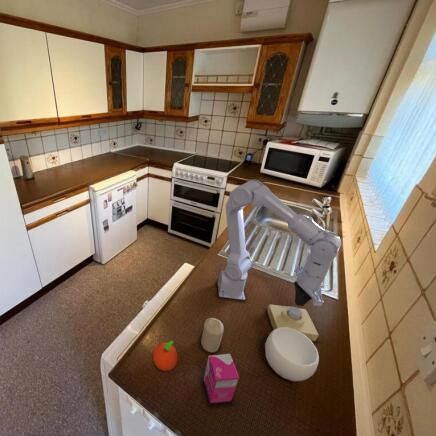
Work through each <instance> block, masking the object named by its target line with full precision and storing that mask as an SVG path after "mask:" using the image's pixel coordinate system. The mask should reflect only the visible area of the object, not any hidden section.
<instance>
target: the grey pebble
mask: <svg viewBox="0 0 436 436" xmlns="http://www.w3.org/2000/svg"><path fill="white" fill-rule="evenodd" d="M298 308H299V307H296V306H290V309H289V311H288V315H289V316H290V317H291V318H293V319H295V320H299V319H300V317H301V315H302V312H301V310H300V309H301V308H300V309H298Z"/></svg>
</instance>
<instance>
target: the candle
mask: <svg viewBox="0 0 436 436" xmlns="http://www.w3.org/2000/svg"><path fill="white" fill-rule="evenodd" d="M224 330H225V327H224V324H223V323H222V321H221V320H219V319H218V318H216V317H209V318H207V319H206V320H205V321H204V324H203V329H202V334H201V339H200V344H201V347H202V348H203V350H205V351H206V352H208V353H215V352H217V351H218V350H219V348H220V345H221V341H222V338H223V334H224Z"/></svg>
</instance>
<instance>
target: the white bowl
mask: <svg viewBox="0 0 436 436" xmlns="http://www.w3.org/2000/svg"><path fill="white" fill-rule="evenodd" d="M264 349H265V350H264V351H265V358H266V361H267V363H268V365H269V366H270V368H272V370H273V371H274V372H275V373H276V374H277V375H278V376H280V377H281V378H283V379H285V380H289V381H291V382H303V381H305V380H308V379H309V378H310V377H312V376H314V374H315V373H316V371H317V369H318V365H319V362H320V355H319V352H318V348H317V347H316V345H315V344H314V342H313V341H312V340H310V339H309V338H308V337H306V336H305V335H304V334H302V333H301V332H299V331H297V330H295V329H292V328H288V327H279V328H277V329H275V330H272V331H271V332H270V333H269V335H268V337H267V339H266V342H265V344H264Z"/></svg>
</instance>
